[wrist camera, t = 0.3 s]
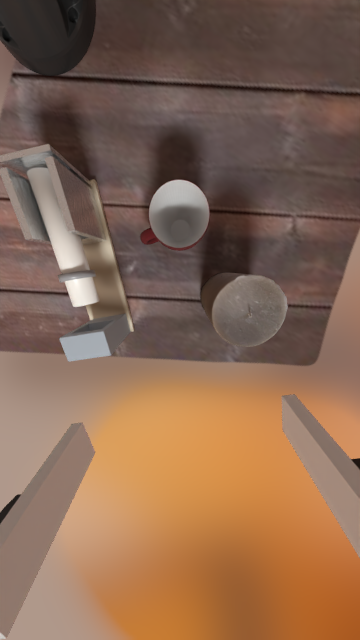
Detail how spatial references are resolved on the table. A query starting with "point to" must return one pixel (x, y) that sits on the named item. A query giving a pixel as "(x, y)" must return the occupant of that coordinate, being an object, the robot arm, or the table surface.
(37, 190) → the slip tube
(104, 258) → the base board
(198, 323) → the table surface
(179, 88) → the table surface
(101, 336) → the socket block
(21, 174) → the grey u-shaped bracket
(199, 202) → the mug
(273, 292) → the pillar candle
